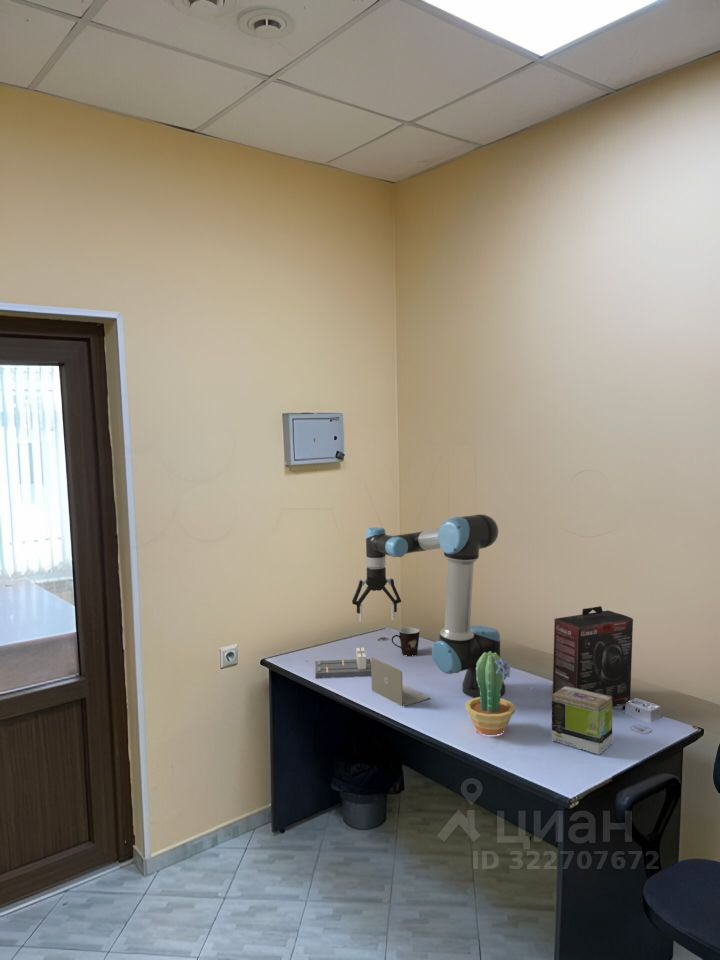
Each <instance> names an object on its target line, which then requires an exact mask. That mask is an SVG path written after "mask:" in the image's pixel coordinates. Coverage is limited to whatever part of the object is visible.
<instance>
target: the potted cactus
mask: <svg viewBox="0 0 720 960" xmlns="http://www.w3.org/2000/svg"><path fill="white" fill-rule="evenodd" d="M476 665H477V667H476V676H477V683H478V686H479V688H480V697H477V698H474V697H473V698H470V699H469V700H467V702H465V703H464V706H465V710H466V712H467V715H469V718H470V720H471V722H472V724H473V725H474V727H475V729H476V730H477V732H479V733H481V734H485V735H497V734H501V733H503V731H505V728H506V727H507V725H508V724H509V723H510V720H511V718H512V717H513V715H514V714H515V710H516V707H515V705H514V704H513V702H511V701H509V700H507V699H505V698H501V697H500V693H501V688H502V685H503V682H504V681H505V680H506V678H510V675H511V673H510V672H511V666H510V665H509V663H508V662H507V661H506V660H504V659H503V658H501V656H500V657H499V656H498V655H497V653H492V652H491V651H489V652H488V653H486V652H484V653H483V654H482V656H481V657H480V658H479V660H478V662H477V664H476ZM504 683H505V682H504ZM476 730H475V731H476ZM477 732H476V733H477Z"/></svg>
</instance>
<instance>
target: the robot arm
mask: <svg viewBox="0 0 720 960" xmlns="http://www.w3.org/2000/svg"><path fill="white" fill-rule="evenodd" d="M365 532H366V533H365V548H366V549H365V554H366V579H358V585H357V588H356V590H355V593H354V595H353V598H352V601H351V603H352V605H355V606H356V613H357V614H359V622H360V623H363V605H362V603H363V602H364V600H365V599H366V597H367V596H369V595H368V594H369V593H370V592H371V591H372V592H375V591H379V592H380V591H382V590H383V592H384V593H385V594H386V596H387V598H389V599H390V601H391V602H392V603H390V605H391V609H390V610H391V611H390V614H391V615H390V616H391V617H390V618H391V621H392V622H395V613H397V609H398V608H397V607H398V604H400V603H401V602H402V600H401V597H400V595H399V592H398V591H397V589H396V586H395V580H394V579H393V578H390V579H389V578H388V579H387V574H386V573H387V572H386V570H387V568H386V565H387V563H386V556H389V557H393V558H402V557H404V556H405V555H407V554H411V553H417V552H426V551H432V550H437V549H440V550H441V551H442V552H443V557H445V559H446V560H447V575H446V594H445V595H446V597H445V611H444V613H445V614H444V627H442V629H440V630H439V640H437V641H435V642H434V643H433V645H432V647H431V656H432V659H433V662H434V664H435V665H436V667H437V668H438V670H440V671H441V672H442V673H444V674H446V675H453V674H459V673H460V672H463V671H466V672H465V675H464V678H463V680H462V688H461V689H462V690H461V691H462V692H463V694H465V695H466V696H469V697H471V698H473V699H474V698H477V697H480V688H479V686H478V683H477V676H476V667H477V665H476V664H477V662H478V660H479V658H480V657H481V656H482V654H483V653H484V652H486V653H488V652H489V651H491V652H492V653H497V655H498V656H499V657H500V658H501V638H500V637H501V636H500V635H501V634H500V632H499V630H498V629H495V628H493V627H490V626H486V625H485V626H484V625H471V613H472V597H473V582H474V581H473V580H474V567H475V566H474V565H475V564H474V563H475V562H477V560H478V559H479V556H480V549H485V548H488V547H490V546H492V545H493V544H494V543H495V542H496V541H497V538H498V535H499V527H498V524H497V523H496V521H495V520H494V519H493V518H492V517H491V516H489V515H486V514H475V515H465V516H455V517H452V518H448V519H446V520H445V521H444V522H442V524H441V525H440V526H439V527H438V528H433V529H428V530H424V531H423V530H422V531H418V532H417V531H416V532H410V533H403V534H396V535H388V534H386V529H385V528H384V527H380V526H379V527H369V528H367V529H366V531H365ZM387 583H388V585H390V586H391V589H392V591H393V593H394V596H395V598H396V599H395V598H394V596H393V595H392V594H391V593H390V591H389V590H388V589H387V588H386V585H387ZM365 584H366V586H367V587H366V588H365V590H364V592H363V593H362V594H361V595H360V593H361V591H362V588H363V587H364V586H365ZM359 596H360V597H359ZM505 693H506V684H505V682H503V685H502V688H501V693H500V698H501V697H502V696H504V695H505Z"/></svg>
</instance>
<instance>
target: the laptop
mask: <svg viewBox="0 0 720 960" xmlns="http://www.w3.org/2000/svg"><path fill="white" fill-rule="evenodd" d="M370 661H371V676H370V677H371V691H372V693H374V694H376V695H378V696H379V697H381V698H383V699H385V700H387V701H390V702H391V703H393V704H395V705H396V706H399V705H400V706H402V707H401V708H404V707H403V706H406V705H409V706H411V704H412V705H415V704H417V702H418V703H420V701H421V702H424V701H426V700H429V699H431V698H430V696H427V695H425V694H423V693H421V692H419V691H418V690H415V689H413V688H411V687H409V686H407V685H404V684H403V671H402V670H401V669H398V668H396V667H394V666H392V665H391V664H387V663H385V662H384V661H381V660H378V659H377V658H374V657H371V658H370ZM414 703H415V704H414ZM400 706H399V707H400ZM406 707H407V706H406Z"/></svg>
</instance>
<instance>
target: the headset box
mask: <svg viewBox="0 0 720 960" xmlns="http://www.w3.org/2000/svg"><path fill="white" fill-rule="evenodd" d="M592 611H594V612H592ZM553 620H554V621H553V622H554V627H553V628H554V632H553V664H552V665H553V668H552V671H553V672H552V694H554V693H555V692H557V691H558V690H560V689H562V688H563V687H565V686H569V687H573V688H577V689H582V690H586V691H590V692H595V693H599V694H603V695H608V696H611V697H612V705H615V706H618V705H617V704H620V705H624V704H627V703H626V702H628V701H629V700H630V701H631V689H632V684H631V683H632V664H633V663H632V659H633V634H634V633H633V631H634V629H633V628H634V619H633V618H632V617H631V616H630V617H629V615H628V616H627V615H625V614H621V613H617V612H614V611H611V610H607V609H606V610H603V607H602V606H600V605H599V606H593V607H587V608H582V613H581V614H577V615H571V616H563V617H558V618H553ZM628 703H629V702H628Z"/></svg>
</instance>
